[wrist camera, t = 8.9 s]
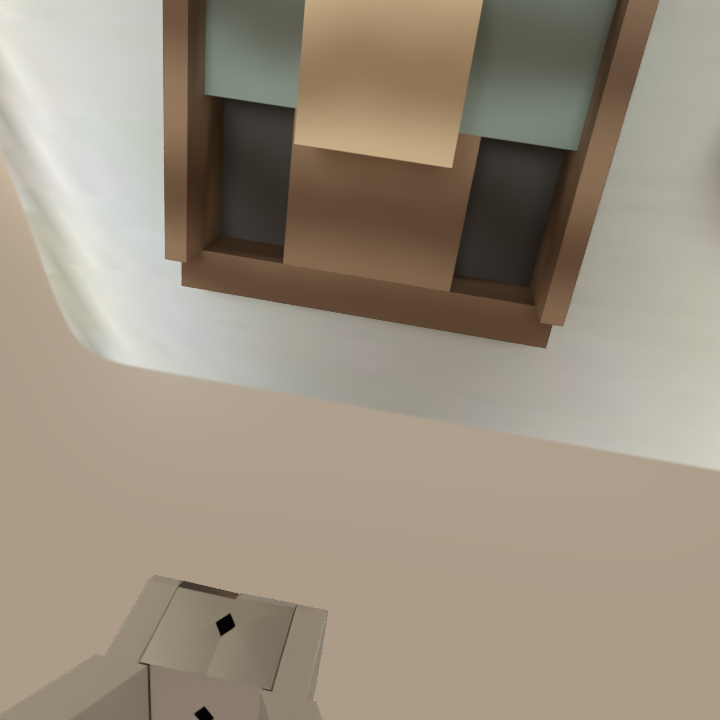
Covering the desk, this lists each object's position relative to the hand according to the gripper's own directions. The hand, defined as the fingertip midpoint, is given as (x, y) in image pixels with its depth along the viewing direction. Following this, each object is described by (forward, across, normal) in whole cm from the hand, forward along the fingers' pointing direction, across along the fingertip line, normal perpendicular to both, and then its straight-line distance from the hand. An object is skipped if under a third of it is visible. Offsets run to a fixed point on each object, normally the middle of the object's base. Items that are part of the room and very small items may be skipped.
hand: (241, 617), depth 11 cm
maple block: (+22, 0, -8) cm, 23 cm away
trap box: (+24, +1, -5) cm, 25 cm away
